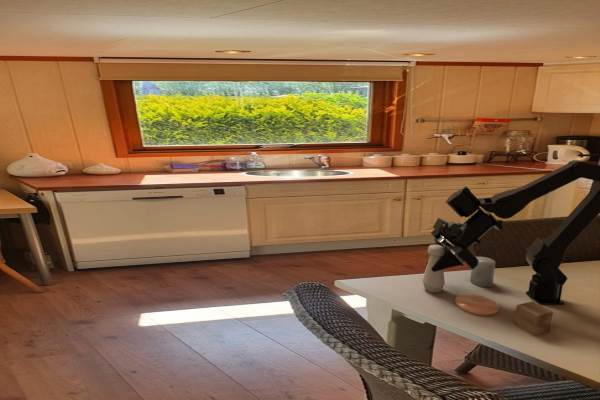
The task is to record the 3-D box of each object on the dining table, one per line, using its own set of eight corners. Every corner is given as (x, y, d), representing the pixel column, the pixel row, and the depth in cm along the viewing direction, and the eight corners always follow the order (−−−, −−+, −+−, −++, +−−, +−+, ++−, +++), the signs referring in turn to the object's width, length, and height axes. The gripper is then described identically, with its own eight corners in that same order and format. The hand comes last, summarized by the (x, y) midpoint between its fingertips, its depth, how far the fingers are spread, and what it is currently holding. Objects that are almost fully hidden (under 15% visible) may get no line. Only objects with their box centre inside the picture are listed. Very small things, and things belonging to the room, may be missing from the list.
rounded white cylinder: (486, 278, 109) (488, 256, 107) (496, 287, 103) (499, 264, 102) (466, 278, 109) (468, 256, 107) (475, 287, 103) (478, 264, 102)
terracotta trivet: (486, 296, 97) (486, 294, 97) (506, 316, 87) (507, 313, 87) (449, 296, 97) (449, 293, 97) (465, 315, 87) (465, 312, 87)
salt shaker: (445, 295, 98) (449, 250, 95) (423, 293, 99) (427, 248, 96) (441, 286, 103) (445, 243, 101) (420, 284, 105) (424, 241, 102)
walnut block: (529, 320, 86) (532, 301, 85) (550, 331, 81) (553, 311, 80) (514, 324, 84) (516, 304, 83) (533, 336, 79) (537, 315, 78)
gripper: (440, 201, 106) (400, 237, 108) (471, 218, 87) (422, 261, 89) (463, 227, 107) (424, 262, 109) (499, 248, 89) (451, 290, 91)
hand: (429, 267), depth 100 cm, fingers closed on salt shaker, 3 cm apart
